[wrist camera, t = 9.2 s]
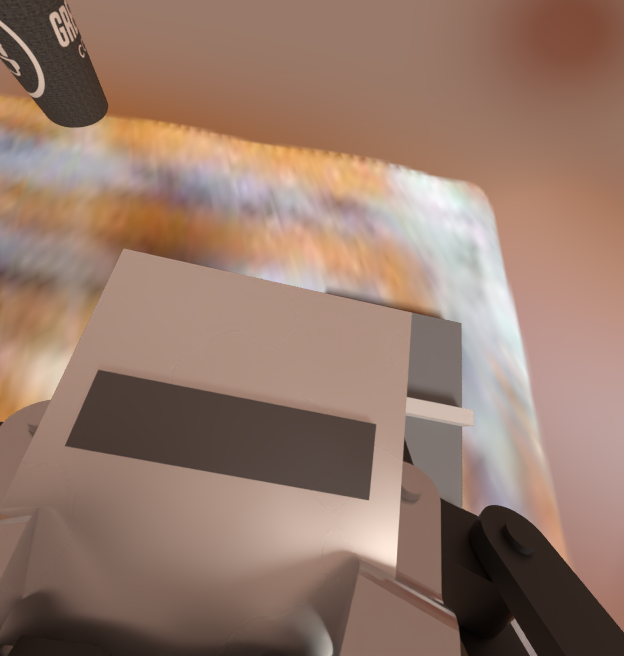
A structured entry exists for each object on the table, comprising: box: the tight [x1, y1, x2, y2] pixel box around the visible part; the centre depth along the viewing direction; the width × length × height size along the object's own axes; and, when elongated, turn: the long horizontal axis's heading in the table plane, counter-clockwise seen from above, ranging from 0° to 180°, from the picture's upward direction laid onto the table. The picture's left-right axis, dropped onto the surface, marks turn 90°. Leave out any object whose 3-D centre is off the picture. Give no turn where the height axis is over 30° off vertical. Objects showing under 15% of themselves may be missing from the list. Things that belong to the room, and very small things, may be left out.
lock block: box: [0, 249, 412, 656], centre depth 9 cm, size 5×5×10 cm
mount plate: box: [404, 313, 474, 508], centre depth 24 cm, size 12×26×4 cm, turn 170°
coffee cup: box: [0, 0, 108, 127], centre depth 27 cm, size 10×10×15 cm
